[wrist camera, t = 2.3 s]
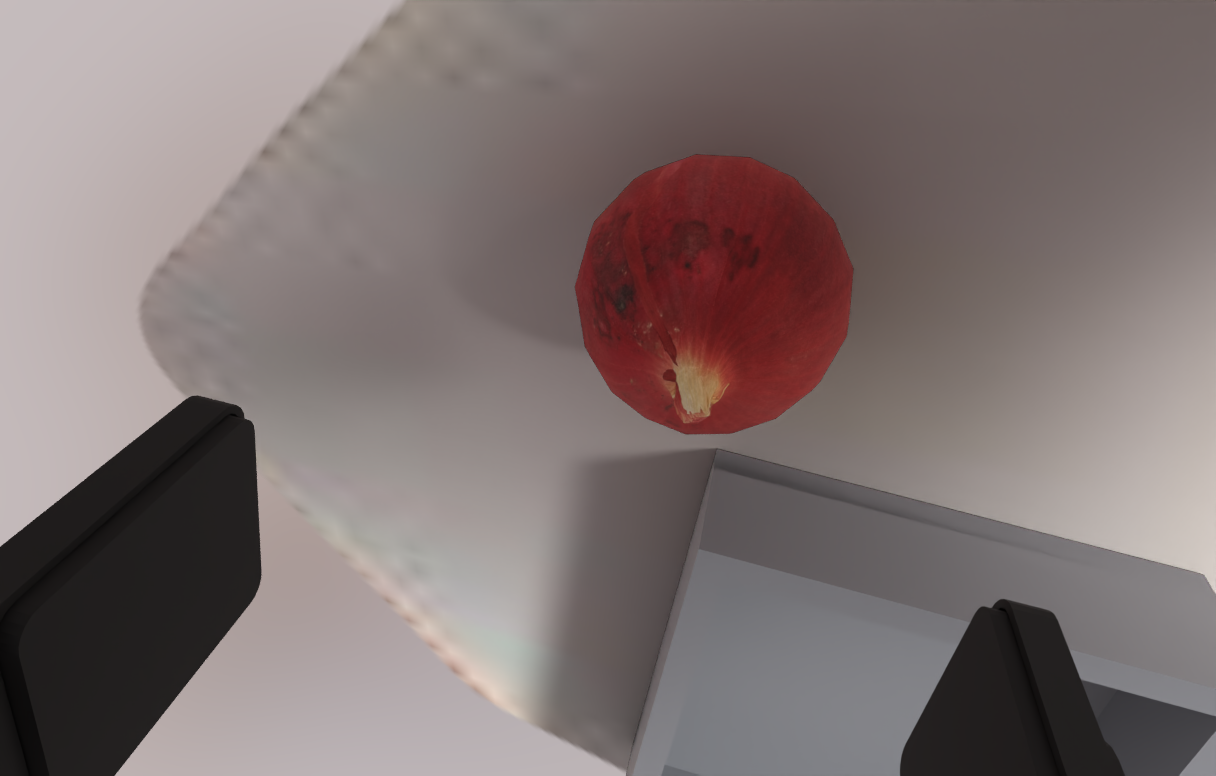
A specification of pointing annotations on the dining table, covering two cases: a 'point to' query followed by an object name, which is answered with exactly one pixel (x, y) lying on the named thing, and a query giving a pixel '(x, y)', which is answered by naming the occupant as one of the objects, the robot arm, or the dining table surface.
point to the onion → (714, 294)
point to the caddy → (899, 631)
